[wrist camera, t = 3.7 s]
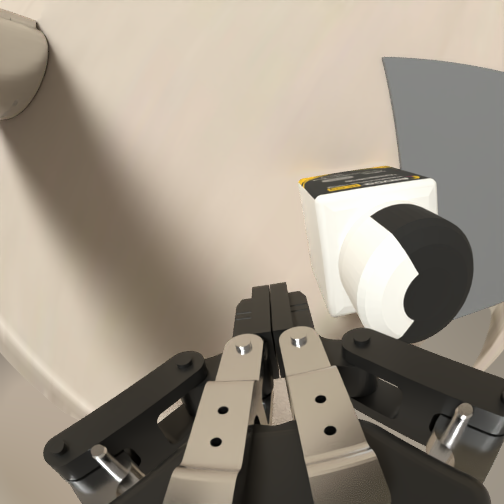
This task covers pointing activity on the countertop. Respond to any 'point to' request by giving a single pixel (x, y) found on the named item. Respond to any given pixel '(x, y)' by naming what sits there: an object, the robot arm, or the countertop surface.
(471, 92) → the rubber mat
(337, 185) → the medicine bottle
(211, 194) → the countertop surface
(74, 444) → the robot arm
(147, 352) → the countertop surface
